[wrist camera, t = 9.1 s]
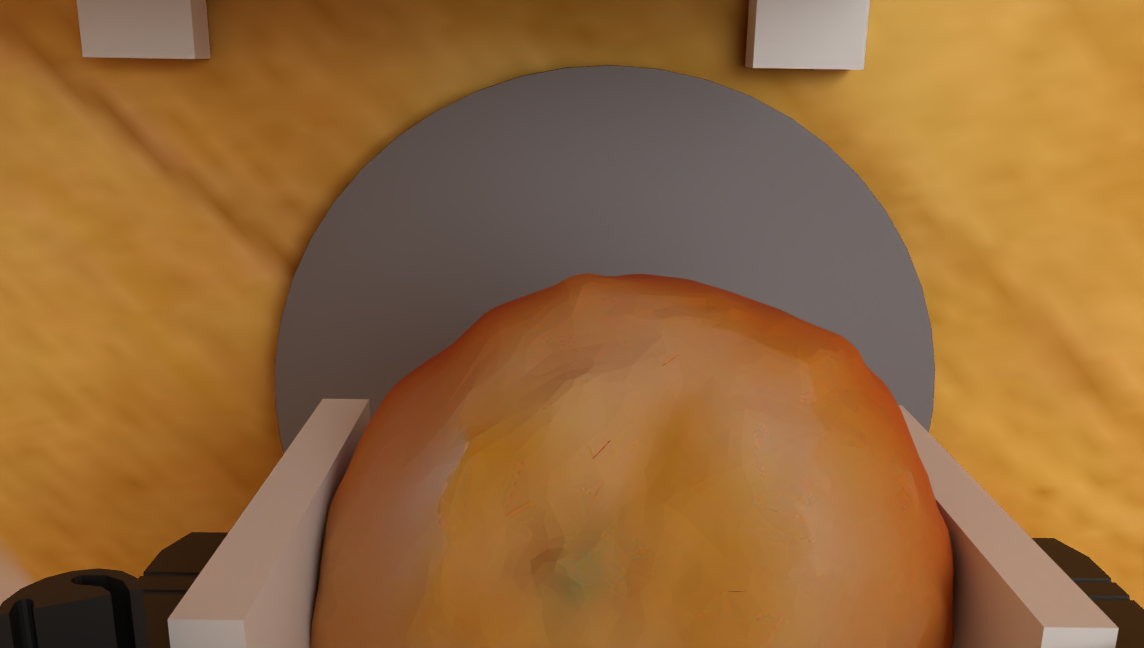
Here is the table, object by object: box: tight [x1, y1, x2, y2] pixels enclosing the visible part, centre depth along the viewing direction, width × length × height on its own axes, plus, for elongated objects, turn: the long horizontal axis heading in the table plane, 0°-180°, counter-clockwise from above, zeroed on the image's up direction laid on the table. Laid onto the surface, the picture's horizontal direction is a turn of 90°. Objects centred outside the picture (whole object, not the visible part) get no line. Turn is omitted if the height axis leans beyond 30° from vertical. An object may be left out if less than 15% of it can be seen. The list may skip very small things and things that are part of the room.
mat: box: [275, 65, 935, 453], centre depth 20 cm, size 13×13×1 cm
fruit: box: [311, 273, 954, 648], centre depth 14 cm, size 8×8×8 cm
